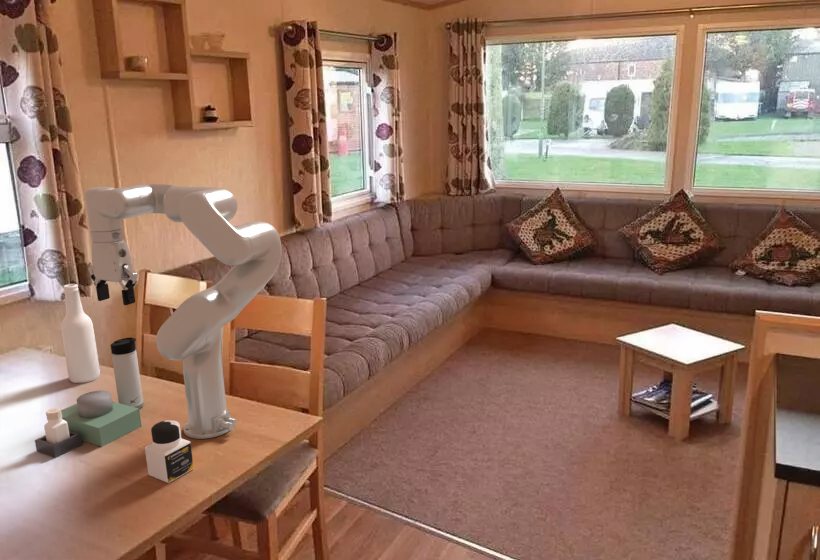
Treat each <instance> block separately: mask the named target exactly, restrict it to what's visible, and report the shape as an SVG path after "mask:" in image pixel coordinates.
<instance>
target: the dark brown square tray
mask: <svg viewBox="0 0 820 560" xmlns="http://www.w3.org/2000/svg"><path fill="white" fill-rule="evenodd" d="M69 435H70V437H69V438H67V439H65V440H63V441H61V442H58V443H56V444H52V443H49V442H47V440H46V434H44V435H42V436H41V437H39V438H37V439H35V440H34V444H35V449H36V452H37V453H41V454H43V455H46V456H49V457H52V458H55V459H57V458H59V457H60V456H63V455H64V454H66V453H69V452H70V451H72V450H74V449H76V448H78V447H79V448H80V446H82V445H83V440H82V439H81V434H80V433H77V432H74V431H71V430H69Z"/></svg>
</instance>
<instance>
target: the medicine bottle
mask: <svg viewBox="0 0 820 560" xmlns="http://www.w3.org/2000/svg"><path fill="white" fill-rule="evenodd" d="M150 433H151V439H152V443H150V444H148V445H147V446H145V447H144V454H145V460H146V466H147V467H146V468H147V472H148V476H151V477H152V478H155V479H157V480H159V481H162V482H164V483H167V484H170V483H172V482H173V481H175V480H177V479H179V478H180V477H182V476H184V475H186V474H187V473H189V472H191V471H193V470H194V461H193V453H192V452H193V450H192V443H191V441H190V440H187V439H184V438H182V431H181V425H180V423H179V422H178V421H177V420H171V419H167V420H162V421H159V422H157V423H155V424H154V425H152V427H151V428H150Z"/></svg>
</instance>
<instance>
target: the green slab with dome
mask: <svg viewBox="0 0 820 560" xmlns="http://www.w3.org/2000/svg"><path fill="white" fill-rule="evenodd" d="M112 400H113V399H112V393H111V392H110V391H109V390H108V391H107V390H94V391H90V392H86V393H84V394H82V395H79V396H78V397H77V398H76V403H75V404H72V405H71V406H67V407H66V408H64V409H61V414H62V419H63V420H65V421H67V423H68V429H69V430H71V431H74V432H77V433H80V434H81V439H82V442H86V443H89V444H93V445H95V446H99V447H102V448H103V447H104V446H106V445H108V444H110V443H112V442H113V441H115V440H118V439H119V438H122V437H123V436H125V435H127V434H129V433H132V432H133V431H135V430H137V429H139V428H140V427H142V426H143V425H142V420H141V412H140V409H139V408H135V407H131V406H128V405H124V404H120V403H119V402H116V401H112Z"/></svg>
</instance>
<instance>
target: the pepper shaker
mask: <svg viewBox="0 0 820 560" xmlns="http://www.w3.org/2000/svg"><path fill="white" fill-rule="evenodd" d="M61 410H62V408H60V407H52V408H49V409H47V410H46V412H45V415H46V420H47V423H45V424H44V425H43V427H44V435H46V440H47V442H49V443H52V444H56V443H58V442H61V441H63V440H65V439H67V438H69V437H70V435H69V429H68V423H67V421H65V420H63V419H62V414H61Z"/></svg>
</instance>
